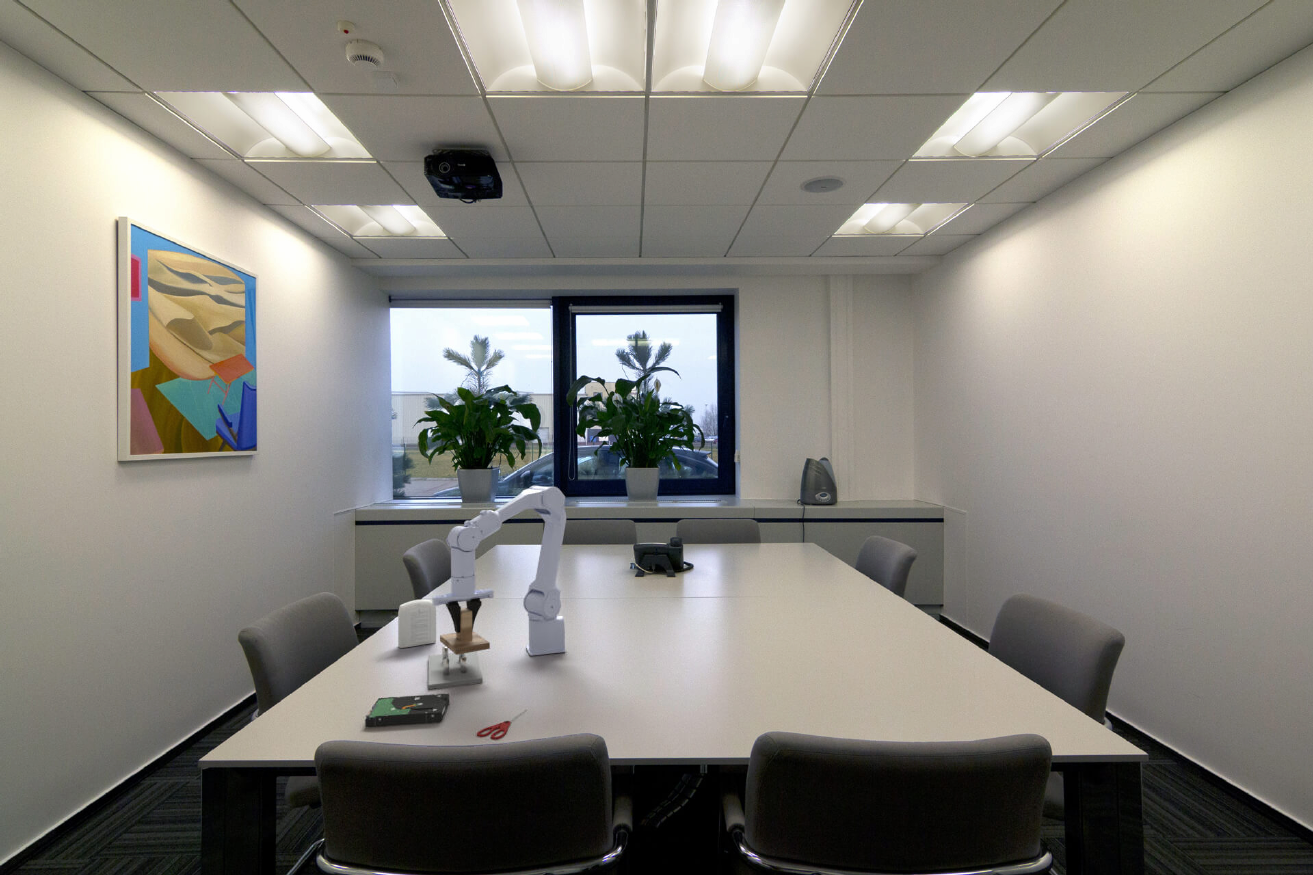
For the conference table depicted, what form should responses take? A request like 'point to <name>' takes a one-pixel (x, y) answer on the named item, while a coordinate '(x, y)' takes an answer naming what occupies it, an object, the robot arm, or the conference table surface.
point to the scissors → (501, 726)
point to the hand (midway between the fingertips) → (463, 630)
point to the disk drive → (408, 710)
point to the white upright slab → (416, 623)
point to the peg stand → (454, 669)
